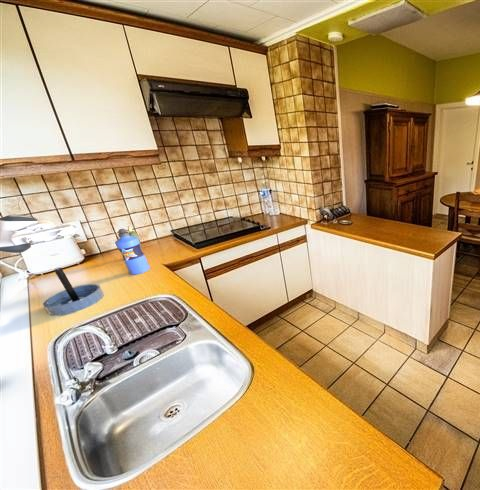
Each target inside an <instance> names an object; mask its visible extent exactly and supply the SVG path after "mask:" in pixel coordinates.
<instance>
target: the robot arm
mask: <svg viewBox="0 0 480 490" xmlns="http://www.w3.org/2000/svg"><path fill="white" fill-rule="evenodd" d="M75 233H76V230H75V226H74V225H72V224H62V225H56V223H54V221H52V220H48V219H43V218H39V219H38V218H36V217H34V216H31V215H25V214H8V215H5V216H2V217H1V218H0V252H4V253H10V254H20V253H24V252H26V251H28V250H29V249H31V247H32V243H36V242H38V243H39V242H49V241H52V240H54V239H56V238H57V237H63V236H66V235H67V236H68V235H71V234H75Z"/></svg>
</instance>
